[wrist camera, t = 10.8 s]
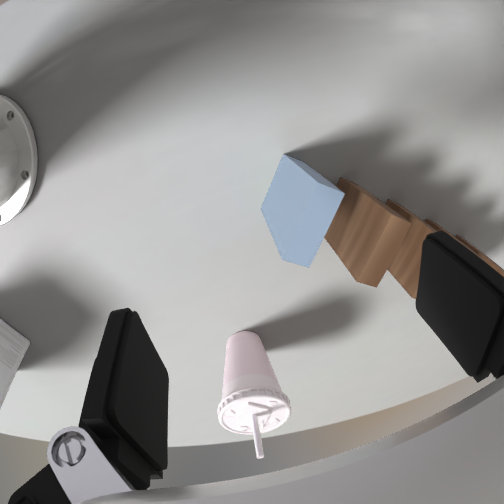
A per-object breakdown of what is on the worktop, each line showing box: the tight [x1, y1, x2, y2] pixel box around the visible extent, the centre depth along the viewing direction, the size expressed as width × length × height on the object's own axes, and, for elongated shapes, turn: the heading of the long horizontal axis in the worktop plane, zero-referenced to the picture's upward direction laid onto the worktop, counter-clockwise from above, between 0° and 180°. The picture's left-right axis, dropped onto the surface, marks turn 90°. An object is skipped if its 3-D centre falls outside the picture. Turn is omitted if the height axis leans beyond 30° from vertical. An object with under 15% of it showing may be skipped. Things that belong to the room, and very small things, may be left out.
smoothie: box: [217, 331, 291, 458], centre depth 27 cm, size 6×6×14 cm
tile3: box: [386, 199, 437, 299], centre depth 25 cm, size 2×5×9 cm, turn 159°
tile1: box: [261, 154, 345, 268], centre depth 22 cm, size 2×5×9 cm, turn 159°
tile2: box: [324, 178, 411, 287], centre depth 24 cm, size 2×5×9 cm, turn 159°
